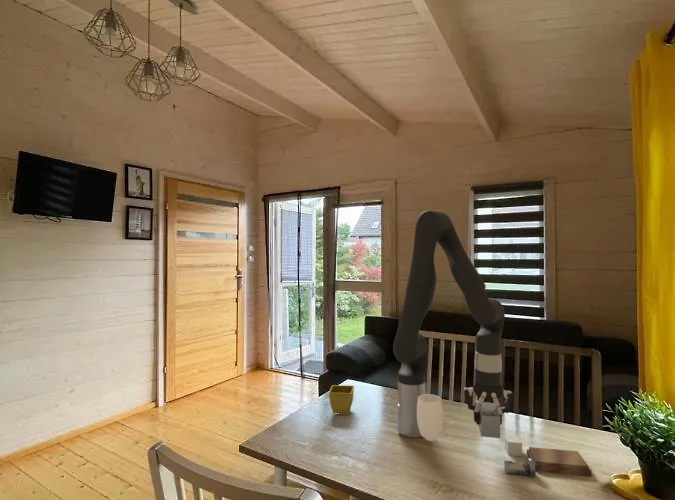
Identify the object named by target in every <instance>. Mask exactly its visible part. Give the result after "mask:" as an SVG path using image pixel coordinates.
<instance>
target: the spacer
mask: <svg viewBox="0 0 675 500" xmlns="http://www.w3.org/2000/svg"><path fill="white" fill-rule="evenodd" d="M503 437H504V439H503V440H504V450H505V452H506V454H507V456H514V457H515V456H516V457H517V456H518V457H519V456H520V457H523V442H522V441H521V439H520V437H519V436H516V435H515V436H514V435H513V436H512V435H504V436H503Z"/></svg>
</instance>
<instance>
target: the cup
mask: <svg viewBox="0 0 675 500" xmlns="http://www.w3.org/2000/svg"><path fill="white" fill-rule="evenodd" d="M417 422H418V428H419V431H420V434H421V435H422V436H421V437H423V438H424V439H425V441H429V442H434V441H436V440H437V439H438V438H440V437H441V435H442V431H443V426H444V409H443V403H442V397H440V396H438V395H436V394H432V393H426V394H423V395H420V396H419V397H418V403H417Z"/></svg>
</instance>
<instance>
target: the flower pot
mask: <svg viewBox="0 0 675 500" xmlns="http://www.w3.org/2000/svg"><path fill="white" fill-rule="evenodd" d="M354 391H355V387H354V385H345V384H344V385H340V384H339V385H335V384H333V385H331V386H330V389H329V391H328V397H329V403H330V408H331V410H332V412H333V413H337V414H336V415H339V414H348V415H349V413H350V412H351V409H352V405H353V400H354ZM338 413H339V414H338Z"/></svg>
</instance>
